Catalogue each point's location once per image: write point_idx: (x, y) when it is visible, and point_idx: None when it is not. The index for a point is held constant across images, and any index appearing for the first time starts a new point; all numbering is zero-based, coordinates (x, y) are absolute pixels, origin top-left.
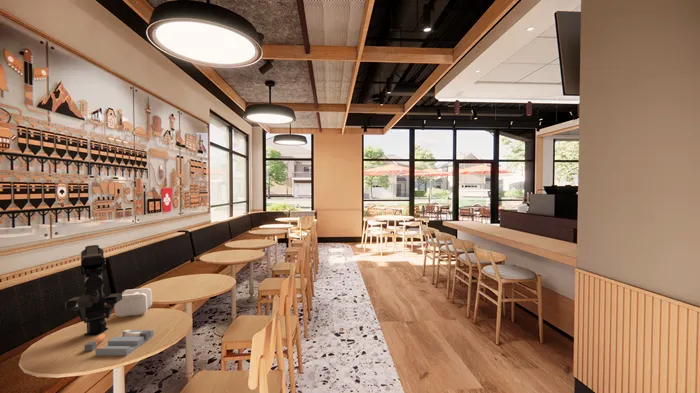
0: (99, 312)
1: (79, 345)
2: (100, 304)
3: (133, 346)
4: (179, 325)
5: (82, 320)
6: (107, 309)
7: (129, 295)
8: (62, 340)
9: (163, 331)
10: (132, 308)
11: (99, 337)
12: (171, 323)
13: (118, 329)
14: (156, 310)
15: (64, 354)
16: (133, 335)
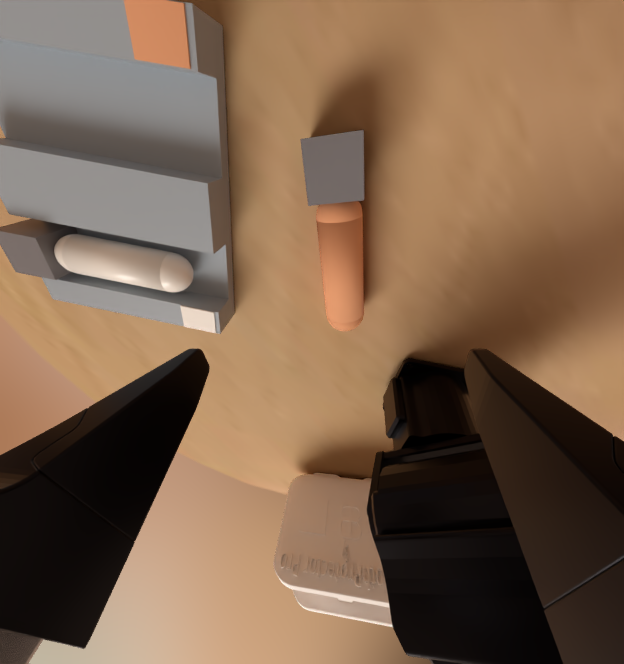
0: (405, 492)
1: (455, 251)
2: (411, 582)
3: (12, 117)
4: (68, 358)
5: (483, 355)
6: (53, 448)
7: (346, 592)
8: (598, 344)
9: (82, 319)
10: (337, 508)
11: (330, 276)
12: (122, 382)
13: (327, 388)
14: (277, 484)
15: (517, 104)
16: (97, 245)
